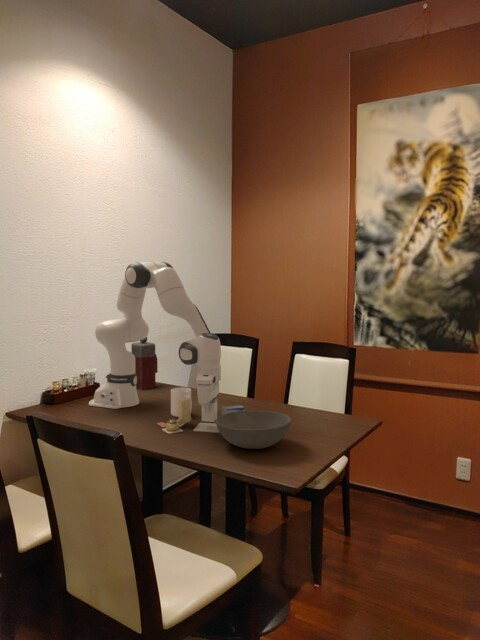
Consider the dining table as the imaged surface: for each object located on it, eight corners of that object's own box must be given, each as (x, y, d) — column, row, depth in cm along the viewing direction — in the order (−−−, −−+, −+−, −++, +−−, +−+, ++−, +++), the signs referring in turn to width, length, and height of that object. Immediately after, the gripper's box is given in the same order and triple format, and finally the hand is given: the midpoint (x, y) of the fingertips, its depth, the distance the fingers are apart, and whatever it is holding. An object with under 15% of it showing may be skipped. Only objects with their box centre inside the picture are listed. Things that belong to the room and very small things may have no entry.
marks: (146, 432, 196) (146, 431, 196) (160, 420, 211) (160, 420, 211) (179, 434, 194) (179, 433, 194) (191, 422, 209) (191, 422, 209)
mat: (193, 431, 198) (193, 430, 198) (199, 423, 208) (199, 422, 208) (218, 432, 196) (218, 431, 196) (224, 425, 206) (224, 424, 206)
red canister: (159, 386, 271) (159, 334, 269) (141, 390, 263) (141, 335, 261) (149, 384, 278) (149, 332, 275) (131, 387, 270) (131, 334, 267)
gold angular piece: (173, 431, 195) (173, 406, 194) (163, 429, 198) (163, 404, 197) (194, 422, 207) (194, 398, 206) (184, 421, 209) (184, 397, 208)
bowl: (233, 463, 166) (233, 433, 165) (205, 438, 190) (205, 411, 189) (304, 452, 176) (305, 424, 175) (269, 430, 200) (270, 405, 199)
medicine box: (225, 431, 198) (226, 408, 197) (220, 427, 202) (221, 405, 201) (243, 429, 201) (245, 407, 200) (238, 425, 205) (239, 404, 204)
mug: (182, 420, 212) (182, 394, 211) (166, 413, 221) (166, 389, 220) (199, 416, 218) (199, 391, 217) (183, 410, 227) (183, 386, 226)
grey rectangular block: (200, 421, 200) (200, 400, 199) (204, 417, 205) (204, 397, 204) (214, 422, 199) (214, 401, 198) (217, 418, 204) (217, 398, 203)
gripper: (207, 370, 211) (207, 403, 212) (194, 380, 191) (194, 417, 192) (223, 370, 210) (222, 404, 211) (211, 381, 190) (211, 418, 191)
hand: (209, 410), depth 201 cm, fingers closed on grey rectangular block, 5 cm apart
